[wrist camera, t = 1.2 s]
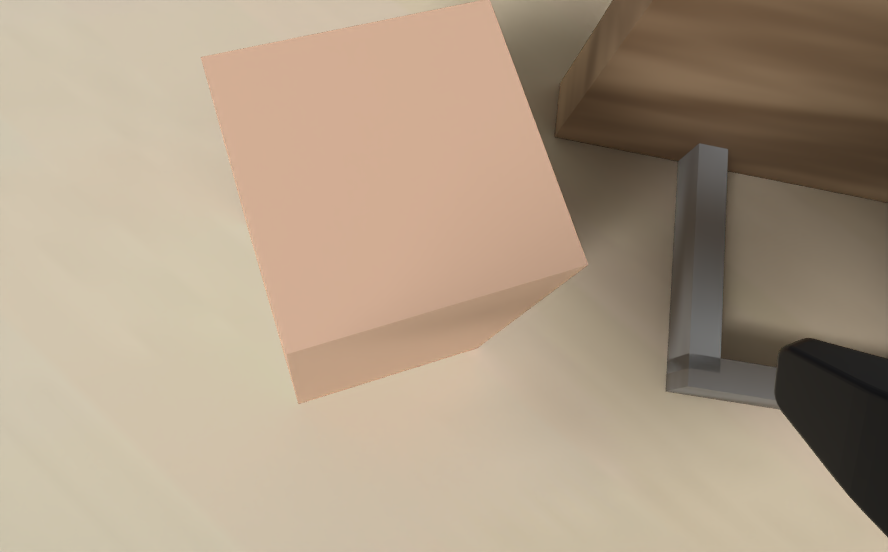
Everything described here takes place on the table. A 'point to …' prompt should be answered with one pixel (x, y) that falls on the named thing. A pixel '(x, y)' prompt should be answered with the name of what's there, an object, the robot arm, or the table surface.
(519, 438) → the table surface
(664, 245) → the table surface
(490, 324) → the pinkish tan block
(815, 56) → the cleat board
